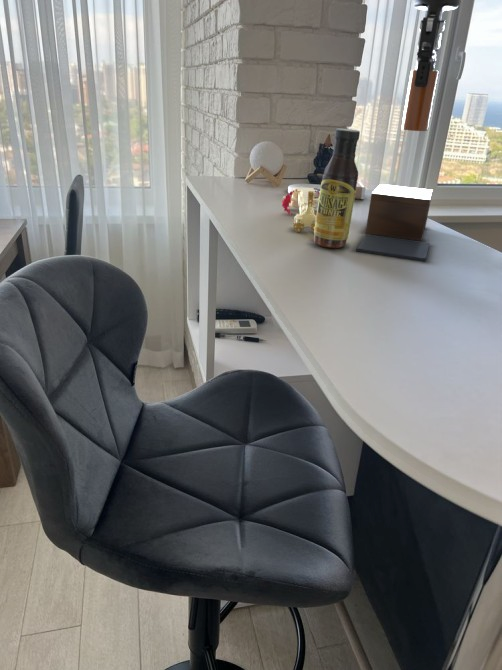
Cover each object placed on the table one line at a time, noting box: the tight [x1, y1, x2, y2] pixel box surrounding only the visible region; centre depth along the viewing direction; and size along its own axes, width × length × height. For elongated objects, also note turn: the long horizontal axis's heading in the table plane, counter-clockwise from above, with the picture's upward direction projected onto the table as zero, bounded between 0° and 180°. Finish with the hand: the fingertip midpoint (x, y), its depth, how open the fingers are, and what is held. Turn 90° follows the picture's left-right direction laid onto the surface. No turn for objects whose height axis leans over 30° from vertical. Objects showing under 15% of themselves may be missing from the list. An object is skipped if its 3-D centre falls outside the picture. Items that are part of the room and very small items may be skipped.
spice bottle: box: [400, 58, 439, 132], centre depth 93 cm, size 5×5×12 cm
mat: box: [355, 233, 430, 262], centre depth 93 cm, size 12×11×1 cm
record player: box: [287, 181, 366, 200], centre depth 137 cm, size 12×3×20 cm
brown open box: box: [365, 183, 434, 242], centre depth 104 cm, size 11×12×8 cm
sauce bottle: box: [313, 128, 361, 249], centre depth 89 cm, size 6×6×20 cm
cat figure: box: [281, 187, 320, 233], centre depth 109 cm, size 10×9×25 cm
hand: (421, 86), depth 93 cm, fingers closed on spice bottle, 4 cm apart
